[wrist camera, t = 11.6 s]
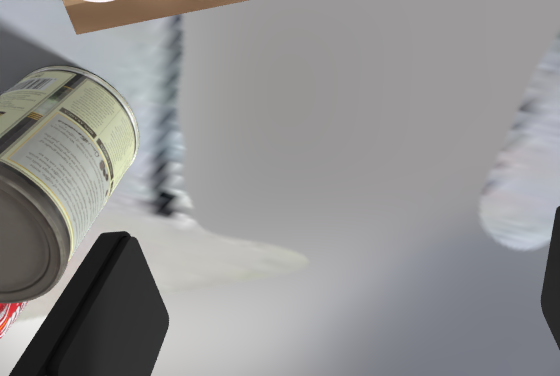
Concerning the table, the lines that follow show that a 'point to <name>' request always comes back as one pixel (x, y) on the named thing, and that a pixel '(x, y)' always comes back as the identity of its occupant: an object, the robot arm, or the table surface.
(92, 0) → the smoothie
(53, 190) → the coffee can
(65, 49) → the table surface
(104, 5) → the wooden divided tray
